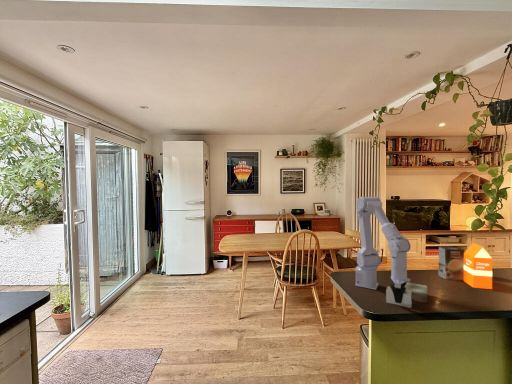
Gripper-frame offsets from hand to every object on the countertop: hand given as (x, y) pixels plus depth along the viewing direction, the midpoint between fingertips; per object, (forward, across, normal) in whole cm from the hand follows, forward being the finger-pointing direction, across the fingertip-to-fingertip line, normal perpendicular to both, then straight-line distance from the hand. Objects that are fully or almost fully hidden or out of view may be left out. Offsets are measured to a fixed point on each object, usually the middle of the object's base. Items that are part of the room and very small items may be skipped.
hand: (399, 299), depth 105 cm
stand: (+2, +11, -4) cm, 12 cm away
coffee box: (+2, +48, -21) cm, 52 cm away
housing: (+2, 0, 0) cm, 2 cm away
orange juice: (+2, +43, -31) cm, 53 cm away
